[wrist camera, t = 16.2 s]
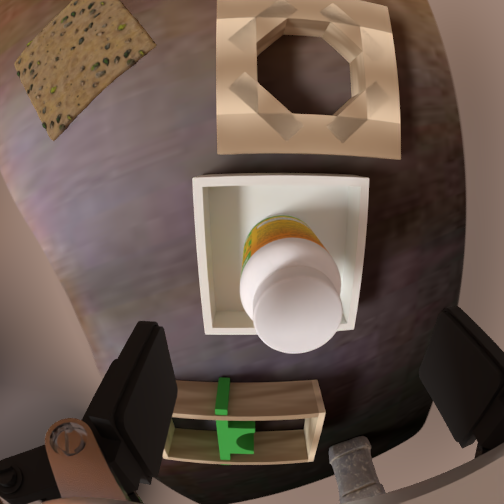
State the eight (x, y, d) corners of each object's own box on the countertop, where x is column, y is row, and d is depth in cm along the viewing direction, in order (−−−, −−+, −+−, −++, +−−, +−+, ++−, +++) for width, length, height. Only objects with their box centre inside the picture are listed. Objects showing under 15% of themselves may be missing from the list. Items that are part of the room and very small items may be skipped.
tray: (201, 175, 20) (192, 177, 18) (353, 174, 20) (369, 177, 17) (210, 313, 24) (205, 334, 21) (343, 310, 24) (353, 329, 21)
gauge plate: (221, 10, 16) (217, -8, 13) (373, 20, 16) (387, 6, 13) (222, 154, 20) (217, 154, 17) (382, 158, 20) (400, 159, 17)
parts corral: (154, 378, 26) (142, 409, 22) (317, 379, 26) (325, 412, 22) (171, 430, 29) (164, 458, 25) (308, 431, 29) (313, 461, 25)
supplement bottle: (237, 219, 21) (224, 270, 12) (312, 207, 21) (357, 250, 11) (250, 287, 23) (247, 372, 13) (319, 277, 22) (357, 354, 13)
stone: (325, 445, 30) (336, 509, 21) (367, 431, 30) (386, 494, 20) (330, 456, 31) (340, 516, 22) (370, 443, 31) (387, 502, 21)
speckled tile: (162, 46, 18) (158, 42, 17) (55, 144, 20) (49, 144, 19) (104, -21, 15) (100, -26, 14) (15, 65, 17) (9, 63, 16)
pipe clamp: (253, 437, 29) (253, 465, 25) (223, 436, 29) (220, 464, 25) (255, 378, 26) (256, 411, 22) (218, 376, 26) (214, 410, 22)
